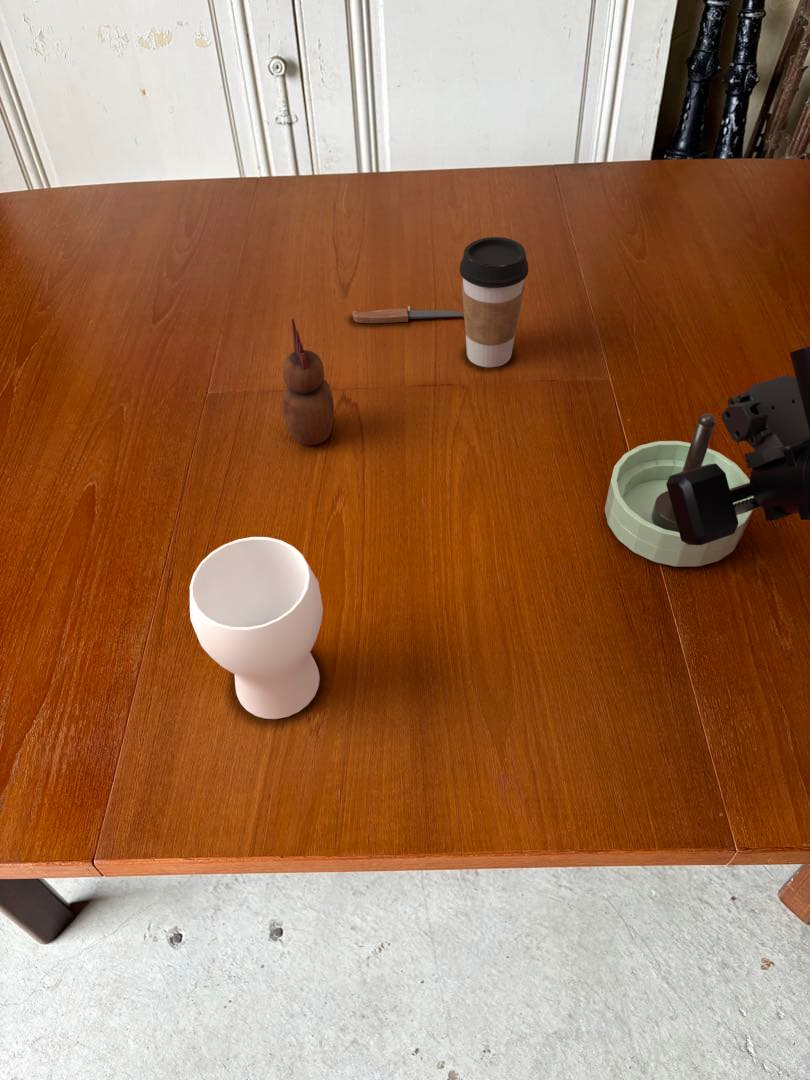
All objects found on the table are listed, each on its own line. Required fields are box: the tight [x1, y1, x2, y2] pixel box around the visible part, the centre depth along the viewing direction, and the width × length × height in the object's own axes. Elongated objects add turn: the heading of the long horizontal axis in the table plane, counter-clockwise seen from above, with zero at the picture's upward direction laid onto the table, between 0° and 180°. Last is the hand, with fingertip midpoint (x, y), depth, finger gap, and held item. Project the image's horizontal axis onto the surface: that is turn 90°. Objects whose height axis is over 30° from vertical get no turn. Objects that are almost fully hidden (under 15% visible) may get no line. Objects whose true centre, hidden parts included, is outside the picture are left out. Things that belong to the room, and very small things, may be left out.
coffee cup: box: [459, 236, 529, 368], centre depth 103 cm, size 8×8×15 cm
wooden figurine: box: [282, 318, 335, 446], centre depth 93 cm, size 7×6×15 cm
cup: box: [189, 536, 324, 720], centre depth 70 cm, size 11×11×15 cm
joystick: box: [652, 412, 717, 532], centre depth 81 cm, size 5×5×14 cm
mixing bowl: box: [604, 440, 754, 568], centre depth 86 cm, size 14×14×5 cm
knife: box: [351, 305, 464, 324], centre depth 114 cm, size 17×1×3 cm
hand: (713, 486), depth 78 cm, fingers open, 9 cm apart
